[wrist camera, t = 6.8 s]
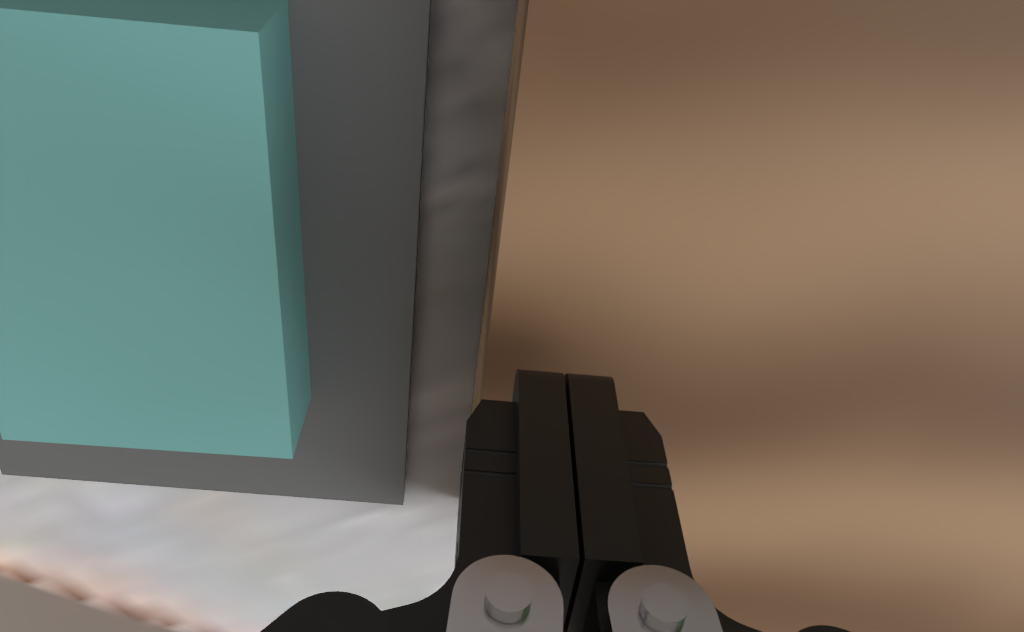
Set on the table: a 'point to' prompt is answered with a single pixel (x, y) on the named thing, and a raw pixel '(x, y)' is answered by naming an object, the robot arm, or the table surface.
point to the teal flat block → (151, 227)
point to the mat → (326, 271)
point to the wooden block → (786, 285)
